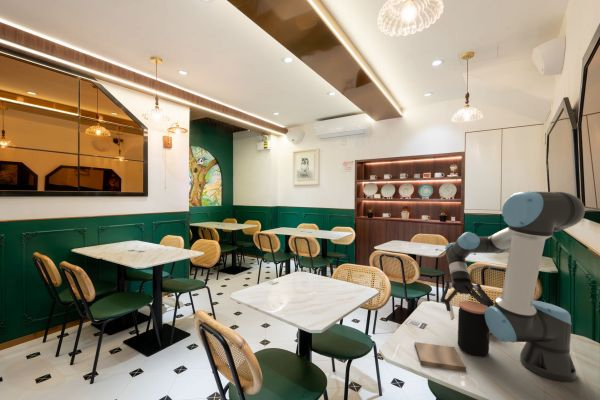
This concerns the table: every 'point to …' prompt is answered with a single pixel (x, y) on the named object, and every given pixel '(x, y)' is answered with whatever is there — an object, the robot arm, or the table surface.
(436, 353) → the walnut board
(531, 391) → the table surface
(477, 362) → the table surface
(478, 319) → the coffee jar
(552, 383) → the table surface
